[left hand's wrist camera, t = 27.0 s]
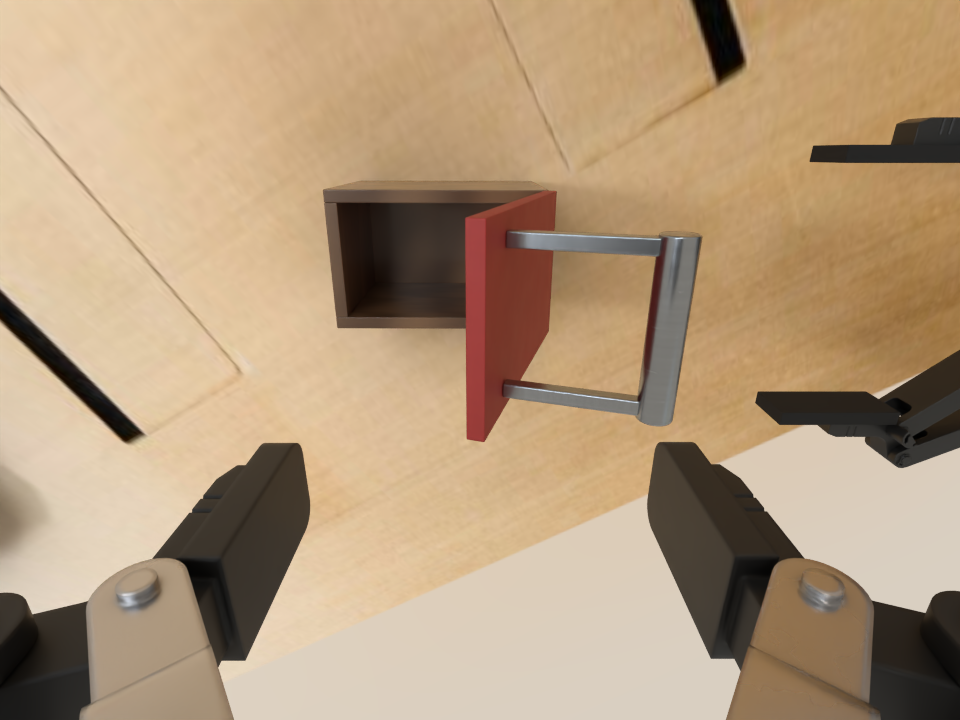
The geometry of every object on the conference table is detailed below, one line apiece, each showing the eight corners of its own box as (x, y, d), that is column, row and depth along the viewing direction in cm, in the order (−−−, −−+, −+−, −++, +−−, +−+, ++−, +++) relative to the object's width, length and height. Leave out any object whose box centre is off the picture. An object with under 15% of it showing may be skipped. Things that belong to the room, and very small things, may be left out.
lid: (466, 439, 22) (672, 473, 20) (464, 217, 18) (715, 227, 16) (537, 330, 35) (663, 343, 33) (543, 190, 32) (686, 194, 30)
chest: (368, 289, 46) (337, 328, 36) (360, 180, 42) (322, 189, 32) (528, 290, 46) (542, 328, 36) (532, 181, 43) (549, 190, 32)
